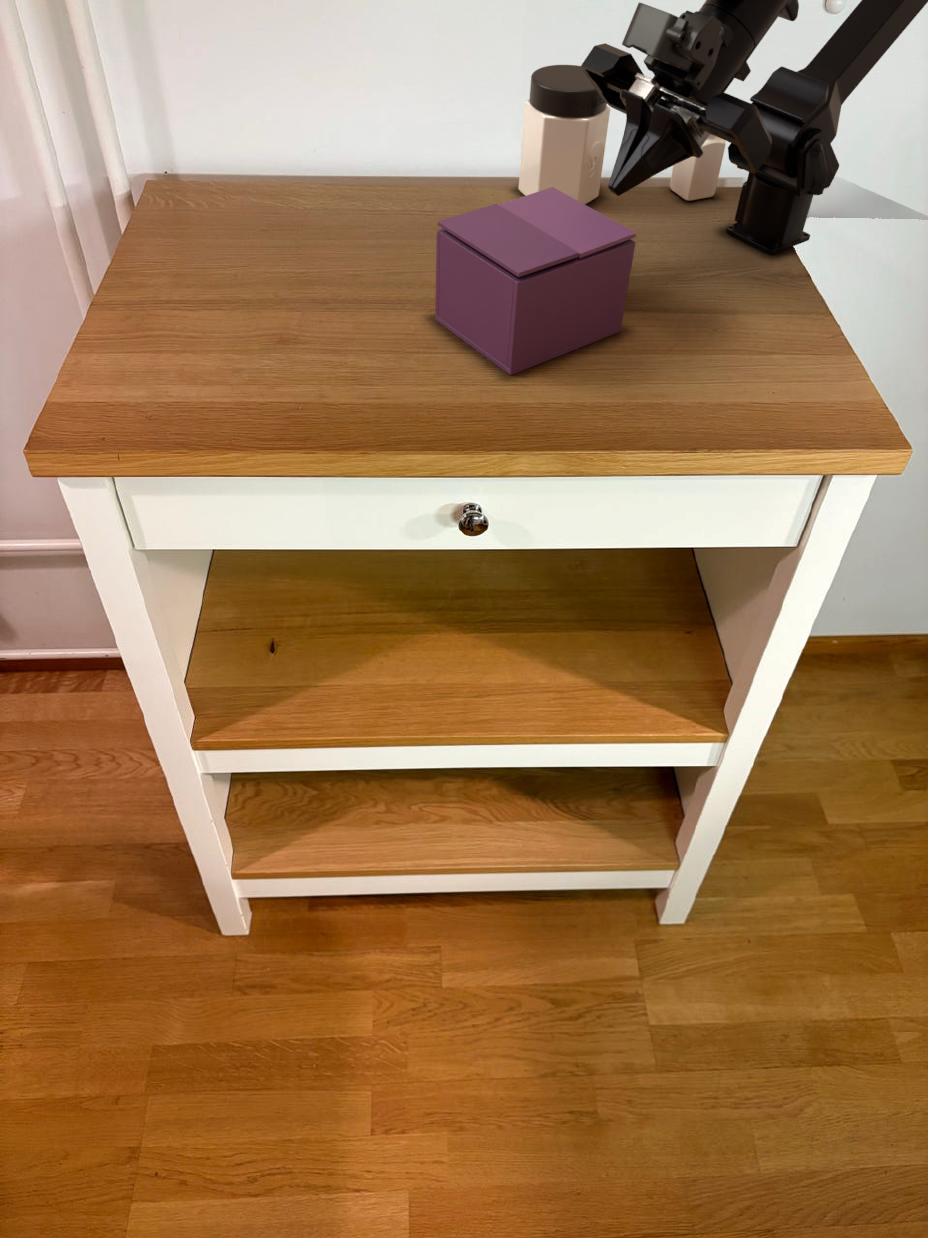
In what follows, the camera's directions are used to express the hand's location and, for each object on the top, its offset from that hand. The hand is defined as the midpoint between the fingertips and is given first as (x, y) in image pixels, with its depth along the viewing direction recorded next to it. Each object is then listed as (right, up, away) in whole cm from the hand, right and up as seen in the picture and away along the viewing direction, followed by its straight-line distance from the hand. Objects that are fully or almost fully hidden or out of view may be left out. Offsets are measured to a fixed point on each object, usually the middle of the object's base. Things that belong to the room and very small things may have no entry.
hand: (612, 191), depth 86 cm
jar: (-3, +10, +24) cm, 26 cm away
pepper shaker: (+13, +10, +25) cm, 30 cm away
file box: (-7, -11, +4) cm, 13 cm away
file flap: (-4, -3, -1) cm, 6 cm away
